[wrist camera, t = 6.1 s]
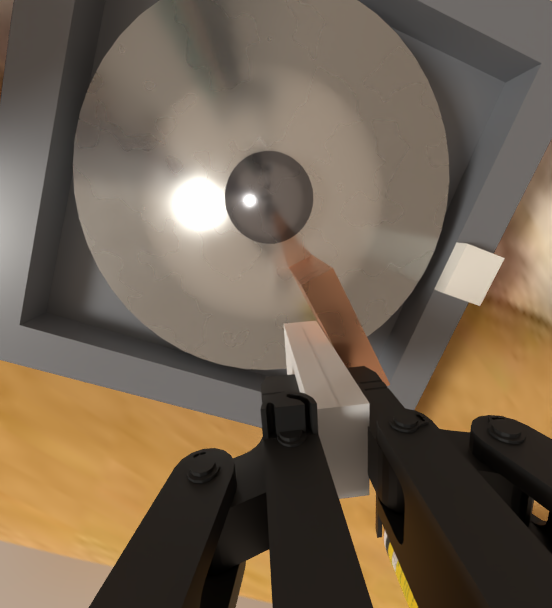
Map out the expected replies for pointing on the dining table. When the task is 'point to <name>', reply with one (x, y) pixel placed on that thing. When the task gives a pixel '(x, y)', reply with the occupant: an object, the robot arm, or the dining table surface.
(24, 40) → the dial plate
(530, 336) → the dining table surface
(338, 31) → the dial
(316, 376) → the robot arm
